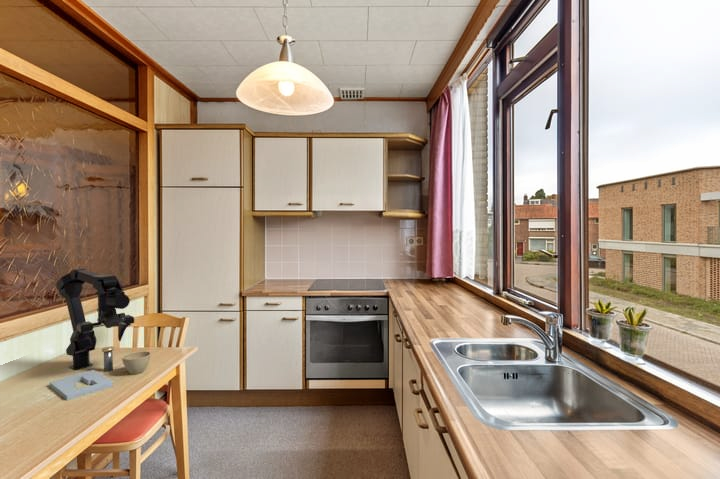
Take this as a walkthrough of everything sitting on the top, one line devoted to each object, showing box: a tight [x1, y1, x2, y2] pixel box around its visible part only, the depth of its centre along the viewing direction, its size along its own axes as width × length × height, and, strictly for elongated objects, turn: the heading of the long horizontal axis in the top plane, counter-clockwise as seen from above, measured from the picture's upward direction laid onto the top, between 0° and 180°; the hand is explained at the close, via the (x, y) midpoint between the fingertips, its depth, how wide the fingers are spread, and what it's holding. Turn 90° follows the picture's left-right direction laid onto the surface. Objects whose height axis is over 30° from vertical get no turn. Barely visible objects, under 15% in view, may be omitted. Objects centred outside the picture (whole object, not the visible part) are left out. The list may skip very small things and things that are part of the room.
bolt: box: [101, 345, 115, 373], centre depth 150 cm, size 4×4×10 cm
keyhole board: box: [49, 369, 114, 401], centre depth 135 cm, size 20×14×2 cm
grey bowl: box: [121, 350, 151, 375], centre depth 148 cm, size 10×10×7 cm
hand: (106, 343), depth 147 cm, fingers open, 9 cm apart
